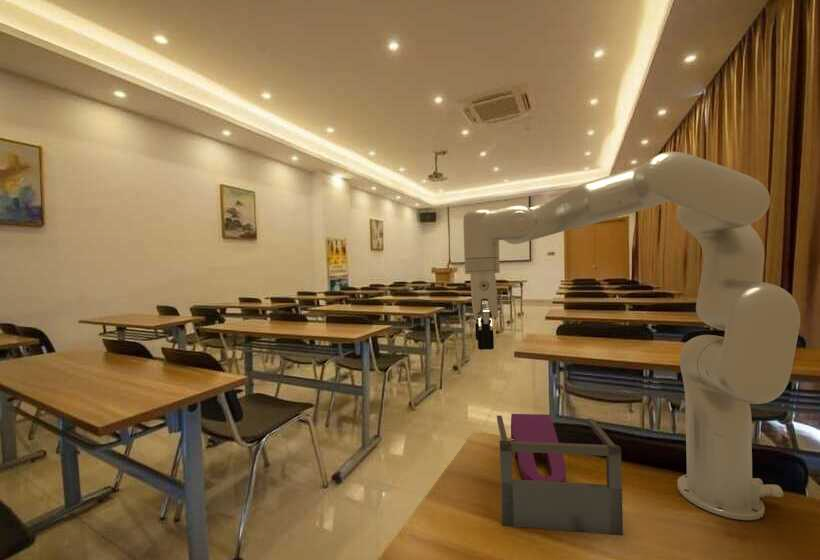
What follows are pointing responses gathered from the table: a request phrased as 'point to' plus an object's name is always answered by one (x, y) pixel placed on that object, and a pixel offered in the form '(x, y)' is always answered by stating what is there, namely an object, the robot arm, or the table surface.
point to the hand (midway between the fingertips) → (484, 344)
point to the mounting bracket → (537, 431)
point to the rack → (562, 490)
